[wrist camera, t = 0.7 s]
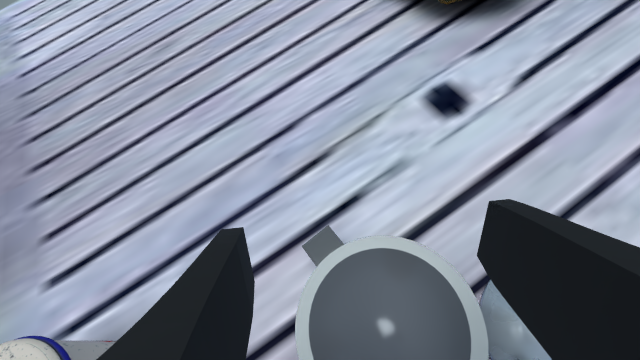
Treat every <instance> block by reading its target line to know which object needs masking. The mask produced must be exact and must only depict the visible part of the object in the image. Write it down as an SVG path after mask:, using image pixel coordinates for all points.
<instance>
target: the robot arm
mask: <svg viewBox="0 0 640 360" xmlns="http://www.w3.org/2000/svg"><path fill="white" fill-rule="evenodd" d="M477 256H478V258H479V260H480V262H481V264H482V265H483V267H484V269H485V271H486V272H487V274H488V276H489V277H490V279H491V281H492V282H493V284H494V286H495V287H496V288H497V290H498V291H499V292H500V294H501V295H502V296H503V297H504V299H505V300H506V301H507V303H508V304H509V305H510V307H511V308H512V309H513V311H514V312H515V313H516V314H517V316H518V317H519V318H520V319H521V321H522V322H523V323H524V325H525V326H526V327H527V328H528V330H529V331H530V332H531V333H532V335H533V336H534V337H535V339H536V340H537V341H538V342H539V344H540V345H541V346H542V347H543V349H544V350H545V351H546V353H547V354H548V355H549V356H550V358H551V359H552V360H640V248H639V247H637V246H634V245H631V244H628V243H626V242H623V241H620V240H618V239H615V238H612V237H610V236H607V235H604V234H602V233H599V232H596V231H594V230H591V229H589V228H586V227H584V226H581V225H578V224H576V223H573V222H571V221H568V220H566V219H563V218H561V217H558V216H555V215H553V214H550V213H548V212H545V211H543V210H540V209H537V208H534V207H532V206H529V205H526V204H523V203H520V202H517V201H514V200H510V199H506V200H496V201H489V204H488V208H487V213H486V217H485V222H484V226H483V231H482V235H481V240H480V244H479V248H478V253H477ZM254 283H255V281H254V276H253V272H252V267H251V262H250V257H249V253H248V248H247V243H246V238H245V234H244V229H243V227H241V228H232V229H222V230H221V231H220V232H219V233H218V234H217V235H216V236H215V237H214V238H213V240H212V241H211V242H210V243H209V244H208V246H207V247H206V248H205V249H204V250H203V251H202V253H201V254H200V255H199V256H198V257H197V259H196V260H195V261H194V262H193V263H192V264H191V266H190V267H189V268H188V269H187V270H186V271H185V272H184V273H183V275H182V276H181V277H180V278H179V279H178V280H177V281H176V282H175V284H174V285H173V286H172V287H171V288H170V289H169V290H168V291H167V292H166V293H165V294H164V295H163V296H162V297H161V298H160V299H159V300H158V301H157V303H156V304H155V305H154V306H153V307H152V308H151V309H150V310H149V311H148V312H147V313H146V314H145V315H144V316H143V317H142V318H141V319H140V320H139V321H138V322H137V323H136V324H135V325H134V326H133V327H132V328H131V329H129V330H128V331H127V332H126V333H125V334H124V335H123V336H122V337H121V338H120V339H119V340H118V341H117V342H115V343H114V344H113V345H112V346H111V347H110V348H109V349H108V350H106V351H105V352H104V353H103V354H102V355H101V356H100V357H99V358H98V359H96V360H246V354H247V348H248V342H249V336H250V330H251V324H252V318H253V304H254Z"/></svg>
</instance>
